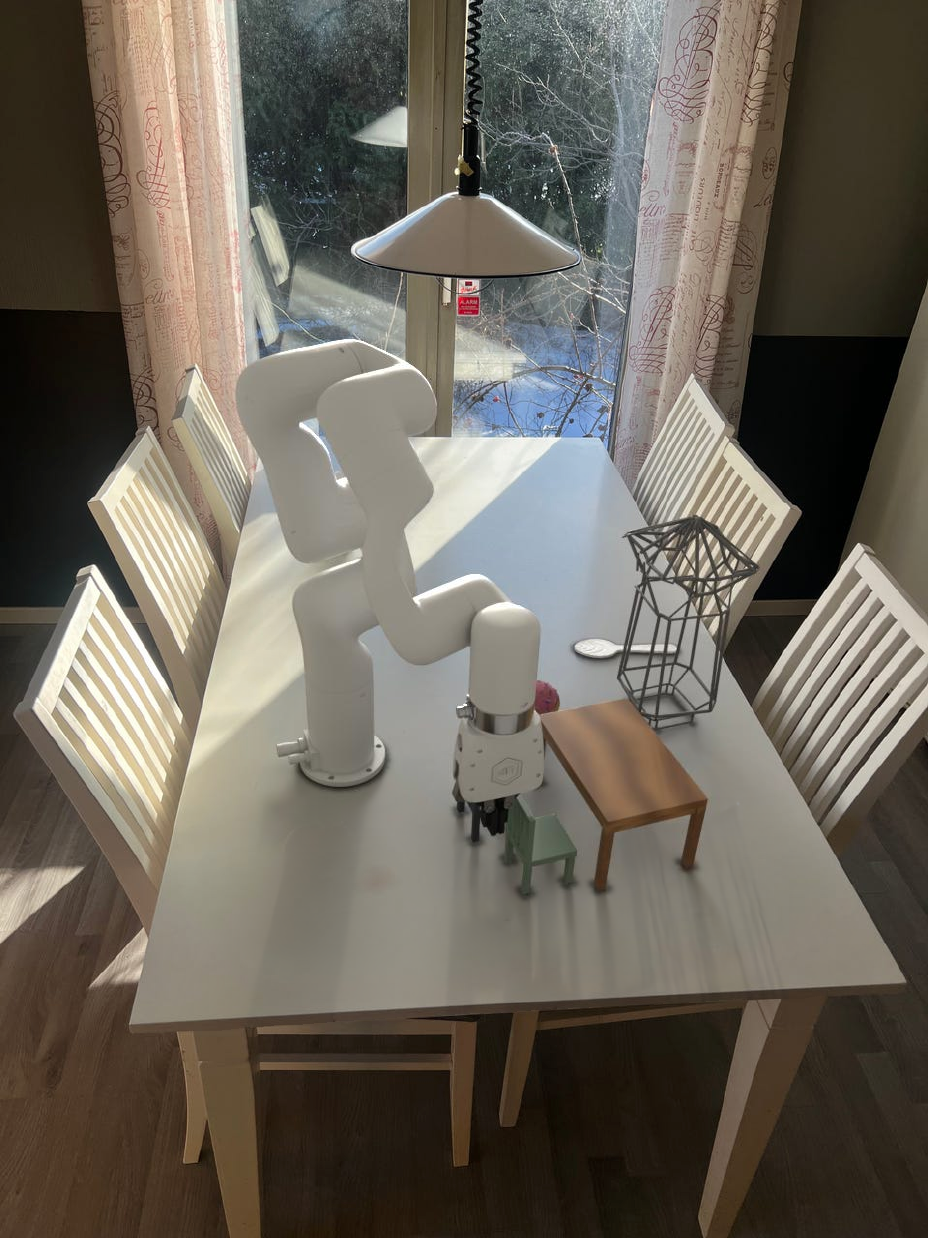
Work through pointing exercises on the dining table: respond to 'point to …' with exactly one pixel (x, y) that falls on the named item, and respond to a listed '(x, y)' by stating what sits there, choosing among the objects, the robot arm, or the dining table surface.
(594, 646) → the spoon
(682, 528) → the geometric lantern
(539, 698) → the cupcake
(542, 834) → the sage chair
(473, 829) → the charcoal chair
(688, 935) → the dining table surface
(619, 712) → the oak table
